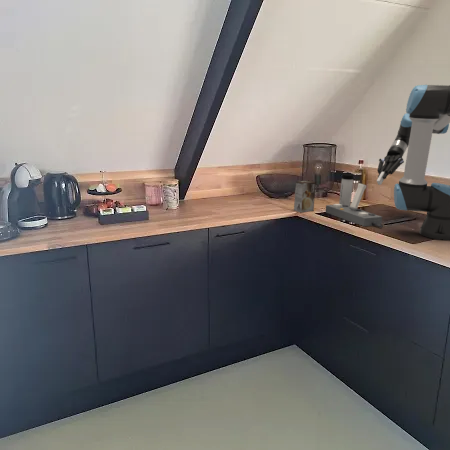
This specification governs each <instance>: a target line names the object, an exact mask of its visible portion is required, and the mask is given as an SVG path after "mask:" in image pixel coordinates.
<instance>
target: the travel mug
mask: <svg viewBox="0 0 450 450" xmlns="http://www.w3.org/2000/svg"><path fill="white" fill-rule="evenodd" d="M354 175H355V174H354V173H351V172H348V171H346V172H343V173H342V175H341V182H340V183H341V184H340V193H339V200H338V201H339V202H338V204H344V205H348V206H350V205H351V203H352V194H353V184H354Z"/></svg>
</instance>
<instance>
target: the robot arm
mask: <svg viewBox="0 0 450 450" xmlns="http://www.w3.org/2000/svg"><path fill="white" fill-rule="evenodd" d="M405 110H406V111H405V112H406V113H404V115H402V118H401V121H400V124H399V129H398V132H397V135H396V137H395V138H394V140H393V142H392V144H391V146H389V149H388V151H387V153H386V156H384V158H379V159H378V167H377V169H376V170H377V173H378V175H377V179H376V183H377V185H379V186H381V185H382V184H383V182H384V181H385V180H386V179H387V177H388V176H389V175H393V174H394V173H395V172H396V170H397V169H398V168H399V167H400V166H401V165H403V164H404V163H405V166H404V172H403V176H402V177H400V179H399V180H398V183H397V182H396V183H395V184H394V186H393V187H394V188H393V202H394V206H395V208H396V209H397V210H399V211H400V210H401V211H405V212H406V211H409V212H411V211H412V212H424V213H426V217H425V218H424V220H423V222H422V224H421V226H420V228H419V234H420V235H421V236H423V237H426V238H430V239H432V240H433V239H434V240H440V239H443V240H442V241H450V185H449V184H445V183H440V182H431V185H428V181H427V180H426V179H425V176H426V173H427V172H426V171H427V165H428V160H429V155H430V154H429V153H430V149H431V144H432V137H433V134H436V135H440V134H441V135H442V134H446V133H447V132H448V130H449V128H450V127H449V126H450V85H443V84H441V85H439V84H418V85H415V86H414V87H413V88H412V89H411V91H410V93H409V96H408V98H407V103H406V109H405ZM405 152H407V153H406V159H405V160H406V161H404V158H403V157H404V155H405Z"/></svg>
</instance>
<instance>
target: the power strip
mask: <svg viewBox="0 0 450 450" xmlns="http://www.w3.org/2000/svg"><path fill="white" fill-rule="evenodd" d="M325 206H326V207H325V213H326V214H329V215H332V216H333V217H334V216H335V217H336V218H337V217H338V218H340V219H342V220H345V221H348V222H350V223H354V224H355V225H358V224H359V226H361V225H362V226H361V227H370V226H374V227H378V228H381V229H382V228H384V226H383V225H382V221H383V216H381V215H377V214H376V213H373V212H372V213H371V212H368V211H365V210H363V209H361V208H357V210H356V211H354V210H351V209H349V207H350V206H348V205H344V204H339V203H333V204H326V205H325Z"/></svg>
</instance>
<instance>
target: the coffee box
mask: <svg viewBox="0 0 450 450" xmlns="http://www.w3.org/2000/svg"><path fill="white" fill-rule="evenodd" d="M315 193H316V182H315V181H311V180H299V181H295V189H294V205H293V211H295V212H299V213H307V212H314V208H315V195H316V194H315Z"/></svg>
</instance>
